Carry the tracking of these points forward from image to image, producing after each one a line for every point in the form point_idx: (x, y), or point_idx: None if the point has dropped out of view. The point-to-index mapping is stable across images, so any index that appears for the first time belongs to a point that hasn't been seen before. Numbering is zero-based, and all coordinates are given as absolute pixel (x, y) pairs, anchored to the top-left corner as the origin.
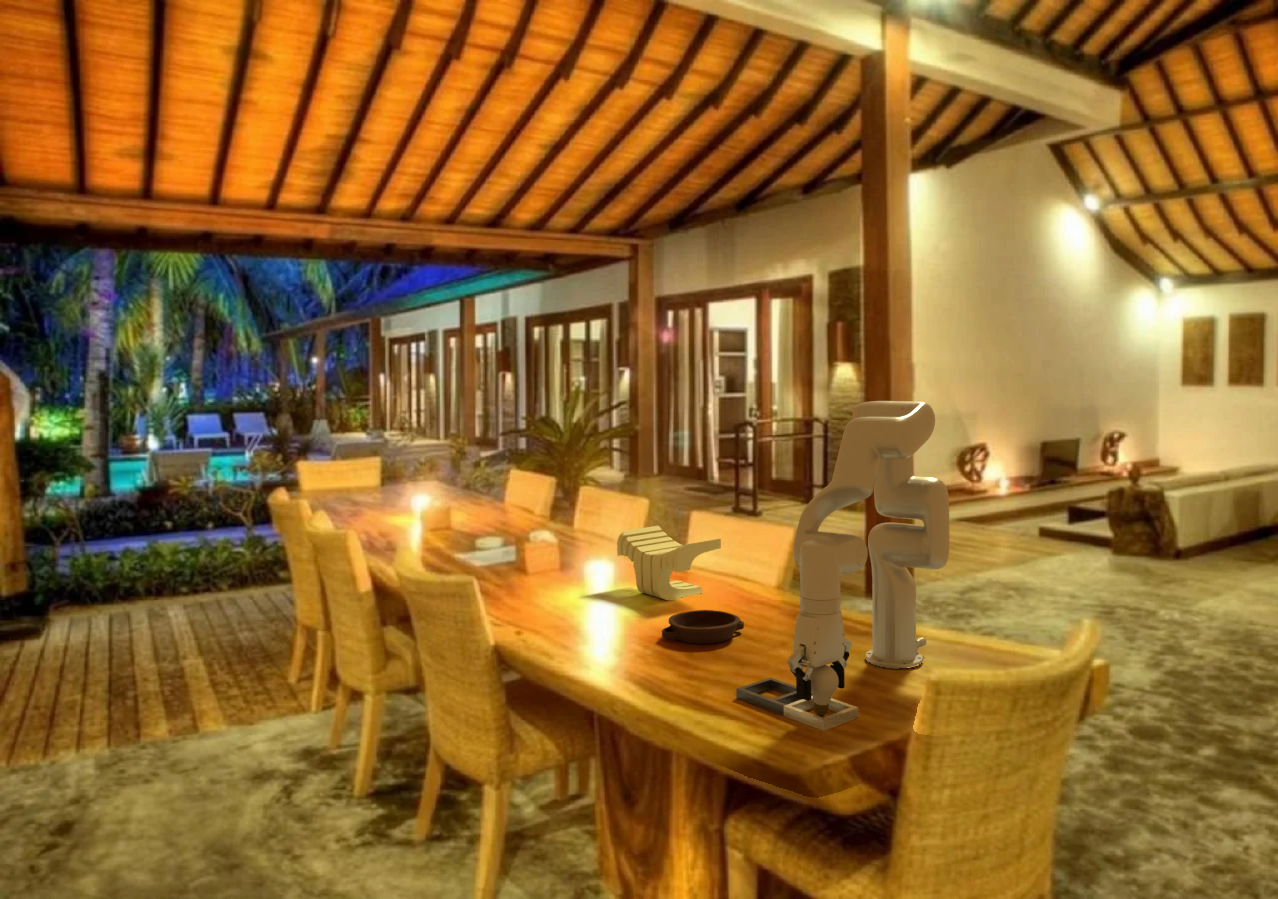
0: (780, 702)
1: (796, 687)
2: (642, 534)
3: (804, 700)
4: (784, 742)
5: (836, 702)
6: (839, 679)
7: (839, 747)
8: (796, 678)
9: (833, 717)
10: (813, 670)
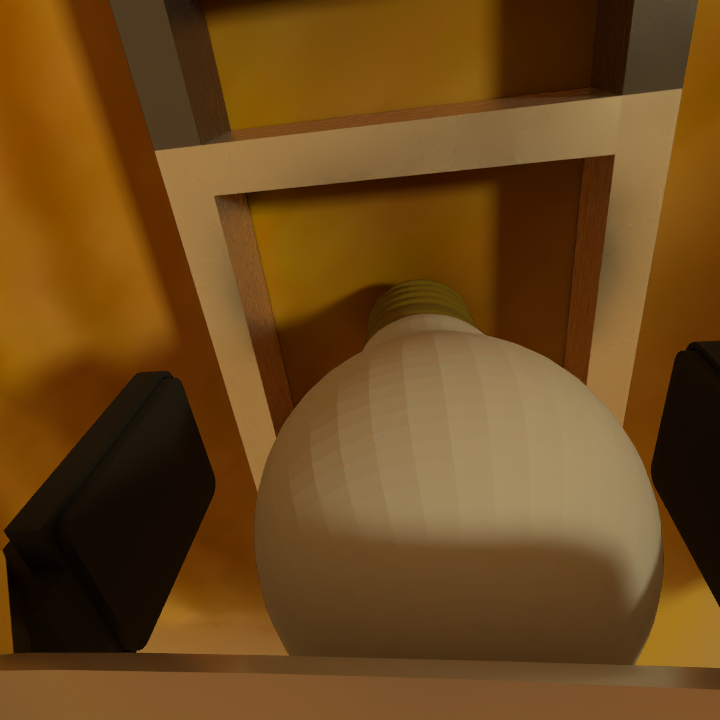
0: (170, 52)
1: (94, 427)
2: None
3: (411, 161)
4: (13, 432)
5: (589, 358)
6: (693, 527)
7: (225, 579)
8: (24, 512)
9: None
10: (296, 626)
